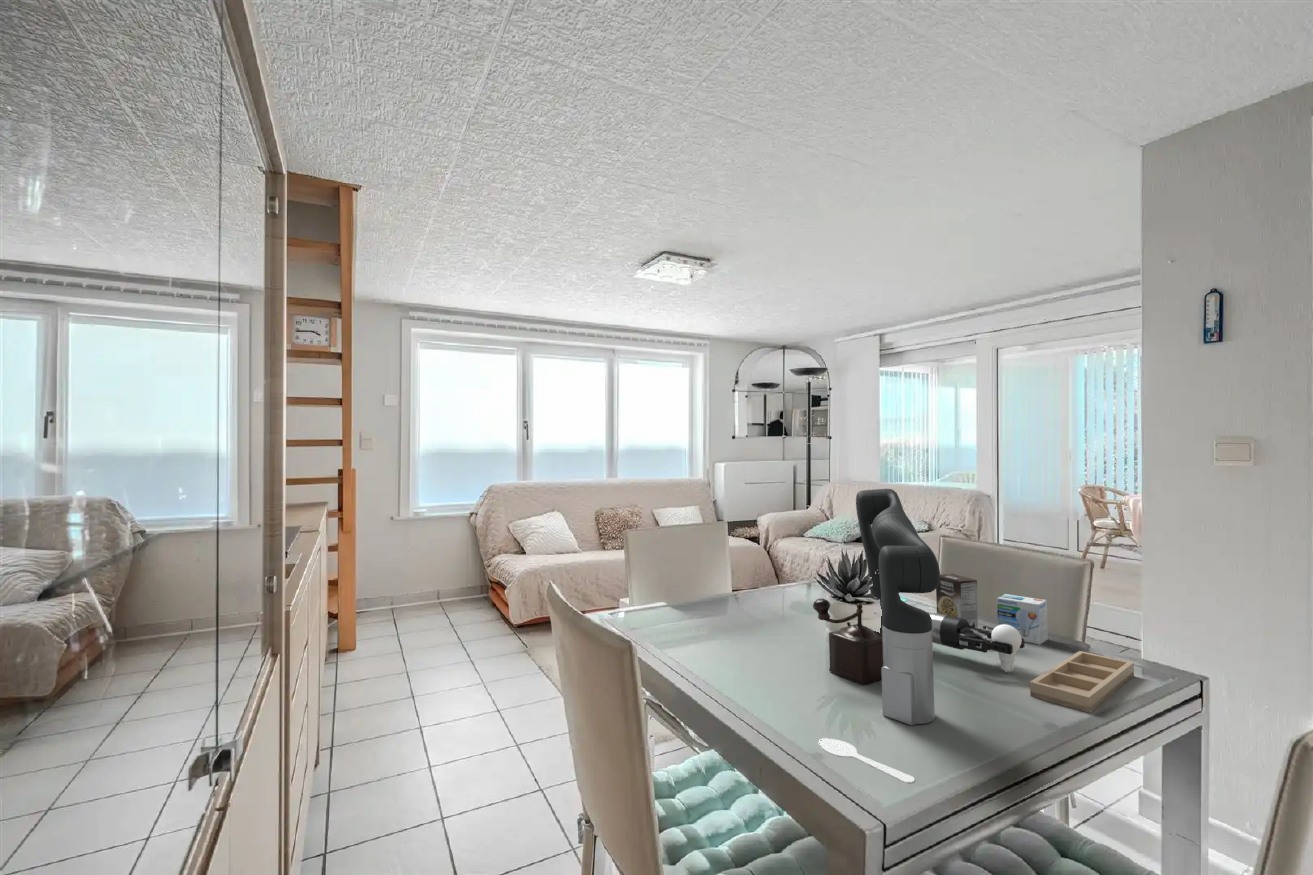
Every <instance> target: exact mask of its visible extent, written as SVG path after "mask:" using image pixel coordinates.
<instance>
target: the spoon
mask: <svg viewBox="0 0 1313 875" xmlns="http://www.w3.org/2000/svg"><path fill="white" fill-rule="evenodd" d="M820 740H822V741H820ZM818 741H819V742H818ZM819 743H820V744H819ZM817 744H818V746H819V745H821V746H822V747H821V746H819V747H820V748H821V749H822V750H823V749H824V750H823V751H825V752H826V751H827V752H826V753H828V754H830V753H831V755H833V756H836V757H841V758H842V757H843V758H854V759H856V760H859V761H860V762H863V763H864V764H866V765H868V766H870V767H872V768H875V769H876V770H879V771H880V772H882V773H884V774H886V775H888V776H891V777H892V778H894V779H896V780H899V781H900V782H903V783H906V784H911V783H914V782H915V777H914V776H912V775H910V774H907V773H905V772H902V771H901V770H898V769H896V768H893V767H891V766H888V765H887V764H883V763H880V762H878V761H877V760H873V759H872V758H869V757H866V756H864V755H861V754H859V753H858V749H857V748H856V747H855V746H854V745H853V744H851V743H850V742H847V741H843V740H839V739H837V738H831V737H830V738H829V737H824V738H823V737H822V738H820V739H818V740H817Z"/></svg>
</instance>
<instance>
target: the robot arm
mask: <svg viewBox="0 0 1313 875" xmlns="http://www.w3.org/2000/svg"><path fill="white" fill-rule="evenodd" d="M855 508H856V515H857V520H858V526H859V532H860V536H861V537H860V538H861V540H862V545H863V547H862V548H863V551H864V554H865V560H866V563H867V565H866V566H867V573H868V577H869V576H870V577H872V579H873V586H872V588H871V589H870V588H869V591H870V595H871V596H872V595H874V596H875V597H877V598H876V599H878V600H879V604H880V606H881V609H882V616H881V628H880V633H882V642H883V667H882V668H881V672H882V680H881V698H882V699H881V700H882V701H881V702H882V703H881V704H882V716H885V717H887V718H890V719H893V720H896V721H898V722H901V723H903V724H906V725H909V726H914V725H922V724H929V723H931V722H933V721H934V720H935V718H936V715H935V714H936V713H935V712H936V711H935V710H936V708H935V681H934V680H935V679H934V655H933V654H934V650H933V644H937V645H941V646H945V647H948V648H952V649H957V650H961V651H963V650H965V649H966V650H972V651H975V652H976V651H977V652H980V653H984V654H985V653H988V651H989V652H997V653H998V652H1001V653H1006V654H1012V653H1013V646H1012V645H1011V644H1008V643H1003V642H998V641H993V640H992V638H991V634H992V631H993V629H994V628H995V627H991V626H987V625H983V626H982V627H979V626H978V627H974V628H971V627H970V625H969V623H968V621H967V620H966V619H963V618H958V617H953V616H949V615H944V614H939V613H937V612H929V611H926V610H923V609H921V608H919V607H916V606H913V605H911V604H908V603H906V602H905V601H903V600H902V598H901V595H900V594H903V593H904V594H928V593H929V594H930V593H932V592H934V591H936V588H937V586H938V584H939V581H940V574H941V570H940V564H939V561H938V559H937V557H936V554H935V553H934V551H933V550H932V548H931V547H930V546H929V545H928V544H927V543H926V542H925V541H924V540H923V539H922V538H921V537H920V535H919V534H918V532H917V530H916V528H915V526H914V524H913V523H912V520H910V519H909V517H908V515H907V513H906V512H905V510H904V507H903V505H902V501H901V500H900V497H899V495H898V493H897V491H895V490H893V489H891V488H876V489H866V490H865V489H863V490H859V491H858V492H857V493H856V496H855ZM877 569H878V571H877ZM875 571H876V573H877V574H875ZM878 572H879V574H878ZM875 597H874V598H875ZM1021 639H1022V642H1021V645H1020V647H1019V649H1023V648H1025V646H1026V645H1025V643H1026V642H1025V641H1024V639H1023V638H1021Z"/></svg>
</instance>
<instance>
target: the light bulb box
mask: <svg viewBox="0 0 1313 875" xmlns="http://www.w3.org/2000/svg"><path fill="white" fill-rule="evenodd" d="M996 610H997V611H996V612H997V613H996V614H997V615H996V617H997V618H996V620H997V626H998V625H1002V624H1006V625H1010V626H1012V627H1014V628H1015V629H1017V631H1018V632H1019V633H1020V635H1021V638H1023V639H1024V642H1025V643H1031V644H1035V645H1042V644H1043V643H1045V642H1047V641H1048V640H1049V636H1048V635H1049V634H1048V603H1047V599H1043V598H1034V597H1028V596H1021V595H1015V594H1008V593H1004V594H1003V595H1000V596H999V597H996Z"/></svg>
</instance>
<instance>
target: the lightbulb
mask: <svg viewBox="0 0 1313 875" xmlns="http://www.w3.org/2000/svg"><path fill="white" fill-rule="evenodd" d="M993 628H994V629H993V631H992V634H991V638H992V640H993V641H998V642H1003V643H1008V644H1011V645H1012V646H1013V653H1012V654H1006V653H1001V652H997V654H998V656H999V657H998V658H999V660H1000V667H1001V668H1000V669H1001V670H1003V671H1004V672H1005V673H1010V672H1013V671H1014V668H1015V664H1014V663H1015V661H1016V655H1017V652H1018V650H1019V649H1020V648H1019V647H1020V645H1021V642H1022V639H1021V635H1020V633H1019V632H1018V631H1017V629H1015V628H1014V627H1012V626H1010V625H1006V624H1002V625H998V624H997V626H995V627H993ZM991 638H990V639H991Z"/></svg>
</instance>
